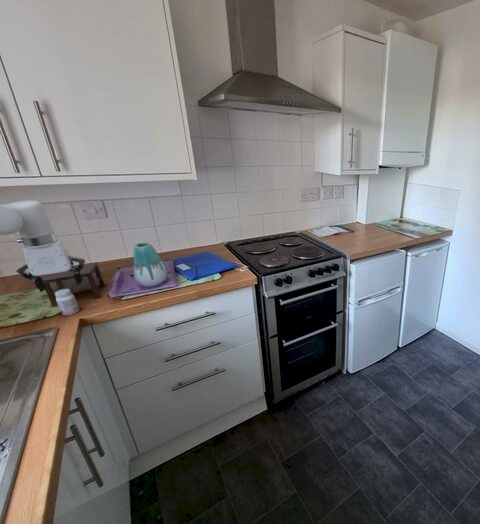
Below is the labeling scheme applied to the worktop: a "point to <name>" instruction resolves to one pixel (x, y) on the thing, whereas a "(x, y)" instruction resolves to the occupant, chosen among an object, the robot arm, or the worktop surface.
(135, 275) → the vase
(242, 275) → the worktop surface
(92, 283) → the shelf
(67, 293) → the pill bottle
